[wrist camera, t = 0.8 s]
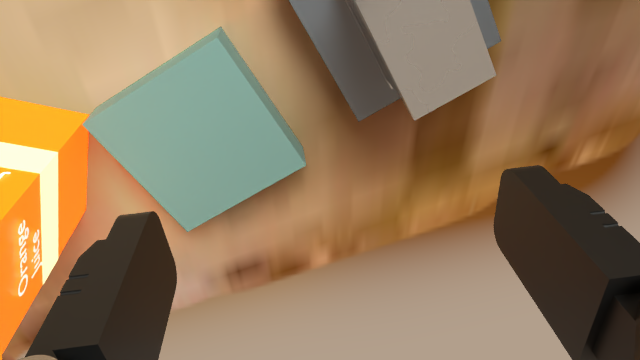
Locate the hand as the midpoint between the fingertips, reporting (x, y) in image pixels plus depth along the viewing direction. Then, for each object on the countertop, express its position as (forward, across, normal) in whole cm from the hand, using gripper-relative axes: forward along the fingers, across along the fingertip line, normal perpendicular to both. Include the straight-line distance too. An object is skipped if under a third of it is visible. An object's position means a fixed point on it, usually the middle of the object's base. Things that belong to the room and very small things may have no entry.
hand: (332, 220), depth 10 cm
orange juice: (+23, +21, +8) cm, 32 cm away
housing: (+21, -6, 0) cm, 22 cm away
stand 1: (+23, +8, +8) cm, 26 cm away
